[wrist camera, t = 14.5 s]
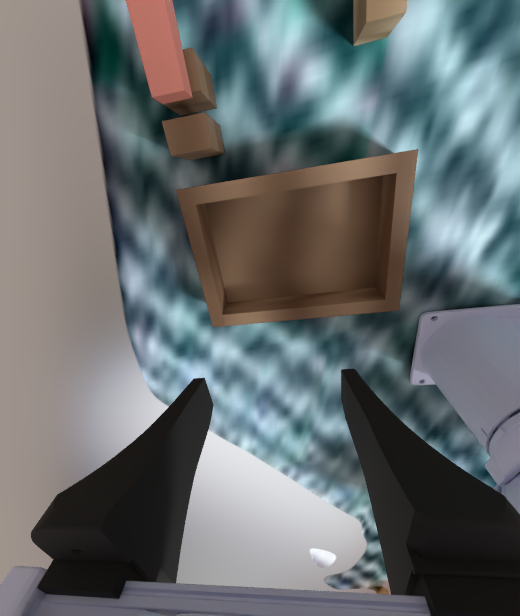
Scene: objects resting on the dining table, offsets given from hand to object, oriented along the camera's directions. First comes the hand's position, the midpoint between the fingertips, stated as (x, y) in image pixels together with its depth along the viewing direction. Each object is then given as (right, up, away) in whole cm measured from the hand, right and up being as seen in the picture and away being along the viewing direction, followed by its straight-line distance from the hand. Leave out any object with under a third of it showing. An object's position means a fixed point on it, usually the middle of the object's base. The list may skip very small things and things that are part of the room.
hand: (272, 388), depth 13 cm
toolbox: (+2, +12, +5) cm, 13 cm away
